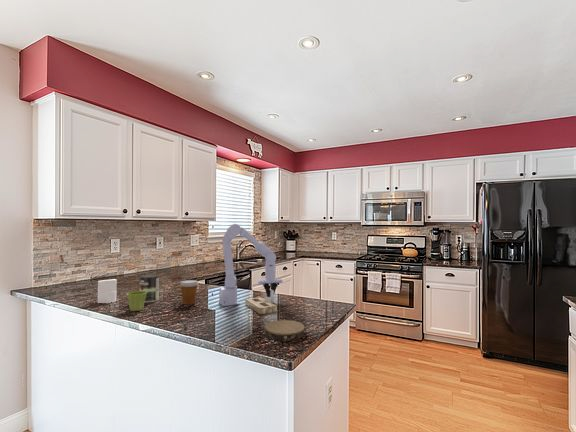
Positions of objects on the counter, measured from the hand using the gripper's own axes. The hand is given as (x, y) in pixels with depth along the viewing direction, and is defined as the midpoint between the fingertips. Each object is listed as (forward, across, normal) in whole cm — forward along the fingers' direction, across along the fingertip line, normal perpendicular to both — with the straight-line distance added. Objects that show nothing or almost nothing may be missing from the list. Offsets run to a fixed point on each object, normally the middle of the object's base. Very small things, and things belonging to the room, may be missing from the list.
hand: (270, 296), depth 169 cm
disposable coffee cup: (+3, -41, +19) cm, 45 cm away
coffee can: (+3, -60, +36) cm, 70 cm away
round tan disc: (+3, -16, -47) cm, 50 cm away
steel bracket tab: (+3, 0, 0) cm, 3 cm away
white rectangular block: (+3, -81, +44) cm, 92 cm away
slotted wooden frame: (+3, -10, -9) cm, 14 cm away
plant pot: (+3, -67, +18) cm, 69 cm away
